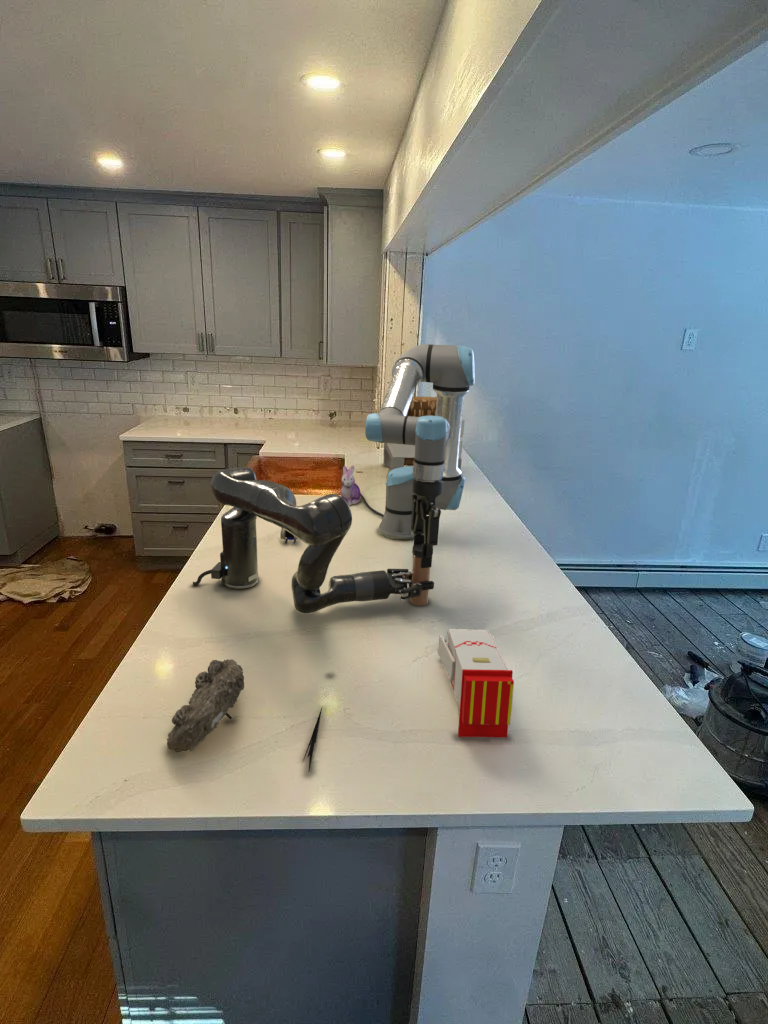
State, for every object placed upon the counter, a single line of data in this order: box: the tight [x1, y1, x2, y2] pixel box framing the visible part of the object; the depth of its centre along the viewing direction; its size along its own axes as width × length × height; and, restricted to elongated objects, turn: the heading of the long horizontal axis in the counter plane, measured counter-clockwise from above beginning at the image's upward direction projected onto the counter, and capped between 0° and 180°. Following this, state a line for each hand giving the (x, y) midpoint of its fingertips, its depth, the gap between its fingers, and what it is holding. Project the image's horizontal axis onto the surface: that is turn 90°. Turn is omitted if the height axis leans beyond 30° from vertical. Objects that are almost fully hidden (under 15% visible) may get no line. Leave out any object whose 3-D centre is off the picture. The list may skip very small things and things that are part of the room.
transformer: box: [383, 395, 465, 472], centre depth 268 cm, size 34×33×41 cm
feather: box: [301, 673, 332, 771], centre depth 108 cm, size 2×28×2 cm
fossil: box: [166, 658, 245, 754], centre depth 106 cm, size 22×10×15 cm
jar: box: [409, 553, 432, 607], centre depth 152 cm, size 5×5×15 cm
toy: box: [437, 628, 515, 738], centre depth 117 cm, size 12×13×30 cm
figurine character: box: [279, 528, 299, 545], centre depth 191 cm, size 7×8×15 cm
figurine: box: [340, 464, 362, 506], centre depth 227 cm, size 9×10×15 cm
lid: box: [411, 544, 434, 557], centre depth 149 cm, size 5×5×2 cm
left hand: (429, 580), depth 153 cm, fingers closed on jar, 5 cm apart
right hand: (421, 562), depth 150 cm, fingers closed on lid, 5 cm apart
